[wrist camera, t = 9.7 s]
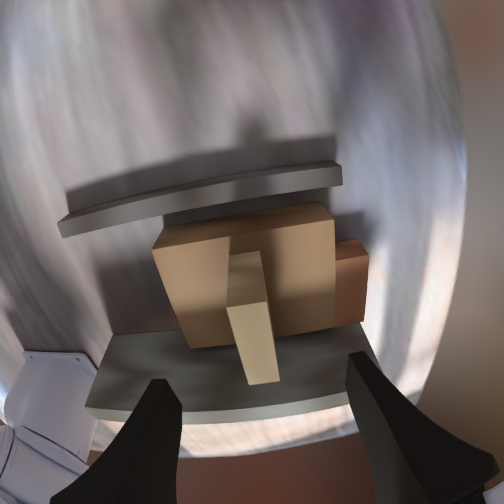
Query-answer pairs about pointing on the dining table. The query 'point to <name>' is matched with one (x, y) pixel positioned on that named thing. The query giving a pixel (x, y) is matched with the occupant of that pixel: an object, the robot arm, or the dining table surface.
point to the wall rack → (227, 356)
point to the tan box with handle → (251, 280)
